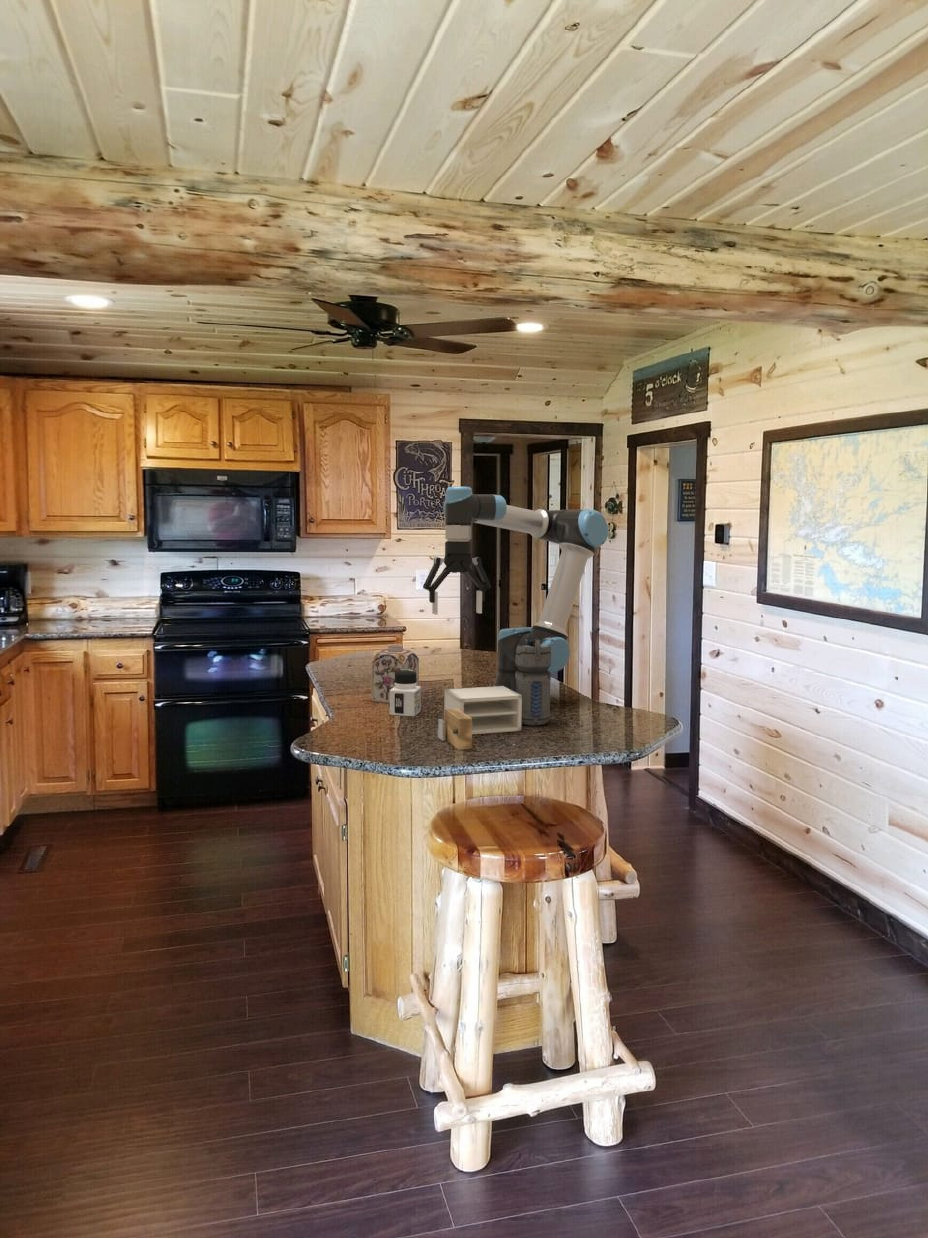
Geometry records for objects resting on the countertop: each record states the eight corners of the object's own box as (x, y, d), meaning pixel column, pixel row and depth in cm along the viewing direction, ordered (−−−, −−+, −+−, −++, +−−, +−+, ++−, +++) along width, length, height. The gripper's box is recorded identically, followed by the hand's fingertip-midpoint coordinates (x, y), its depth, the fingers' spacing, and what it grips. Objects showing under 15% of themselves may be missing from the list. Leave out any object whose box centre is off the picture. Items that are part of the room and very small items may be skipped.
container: (414, 716, 254) (414, 673, 253) (389, 715, 256) (389, 672, 254) (420, 711, 262) (421, 669, 260) (396, 709, 263) (396, 667, 262)
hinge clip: (460, 735, 232) (460, 717, 232) (465, 739, 229) (465, 720, 228) (437, 737, 230) (438, 719, 230) (442, 741, 226) (442, 722, 226)
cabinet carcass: (502, 719, 252) (503, 685, 251) (521, 730, 239) (521, 695, 238) (443, 723, 246) (444, 689, 245) (459, 735, 233) (460, 698, 232)
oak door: (456, 737, 231) (457, 708, 230) (471, 749, 219) (472, 718, 218) (440, 738, 229) (441, 709, 228) (455, 750, 218) (455, 719, 217)
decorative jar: (370, 702, 274) (370, 646, 272) (387, 695, 285) (387, 641, 283) (404, 705, 270) (404, 648, 267) (420, 698, 280) (420, 643, 278)
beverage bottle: (542, 716, 257) (544, 633, 254) (554, 726, 244) (556, 639, 241) (509, 717, 255) (511, 633, 252) (518, 727, 242) (520, 639, 239)
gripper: (493, 540, 256) (492, 611, 259) (412, 539, 248) (412, 613, 250) (503, 541, 249) (501, 613, 252) (420, 540, 241) (419, 615, 243)
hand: (457, 613), depth 251 cm, fingers open, 13 cm apart
